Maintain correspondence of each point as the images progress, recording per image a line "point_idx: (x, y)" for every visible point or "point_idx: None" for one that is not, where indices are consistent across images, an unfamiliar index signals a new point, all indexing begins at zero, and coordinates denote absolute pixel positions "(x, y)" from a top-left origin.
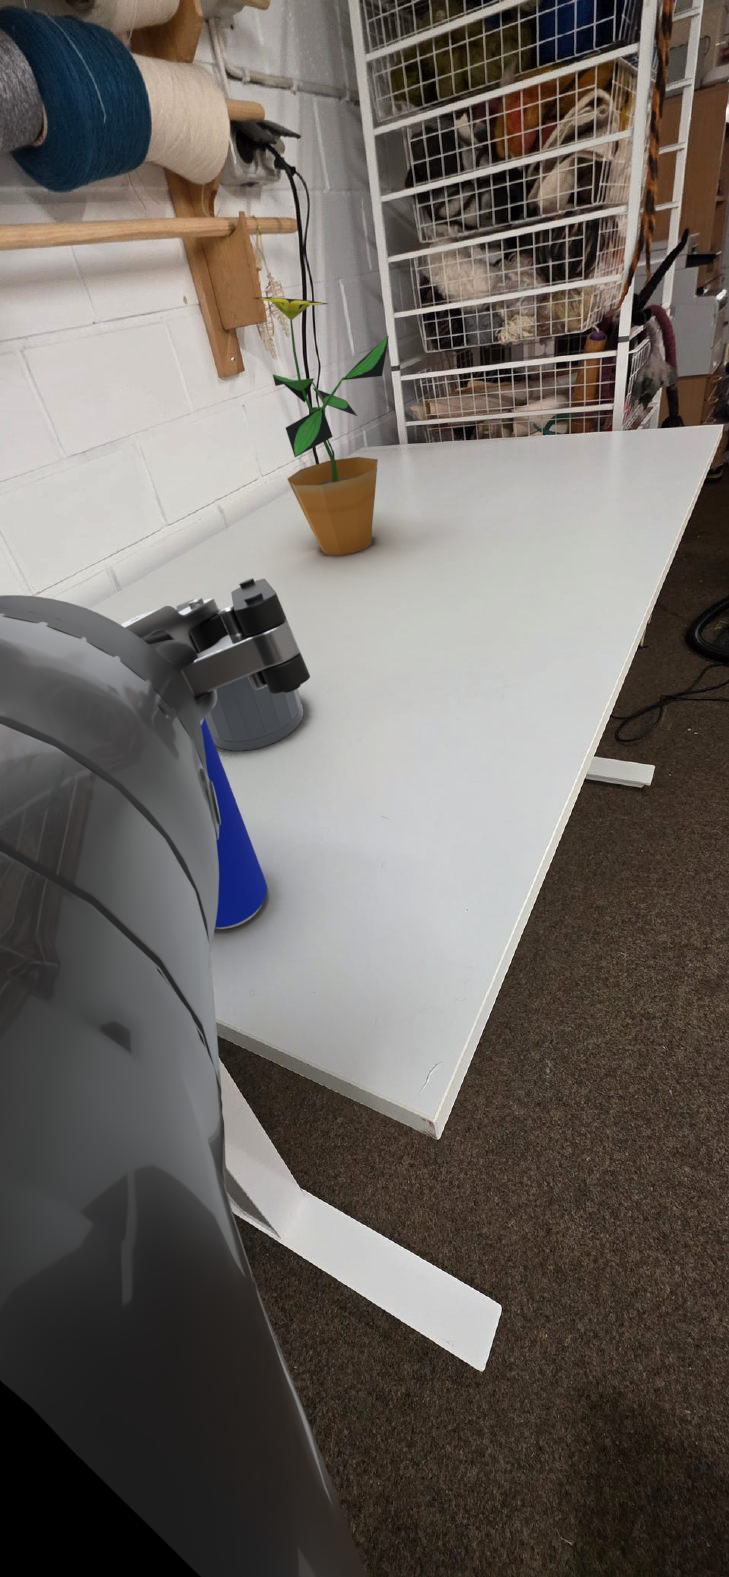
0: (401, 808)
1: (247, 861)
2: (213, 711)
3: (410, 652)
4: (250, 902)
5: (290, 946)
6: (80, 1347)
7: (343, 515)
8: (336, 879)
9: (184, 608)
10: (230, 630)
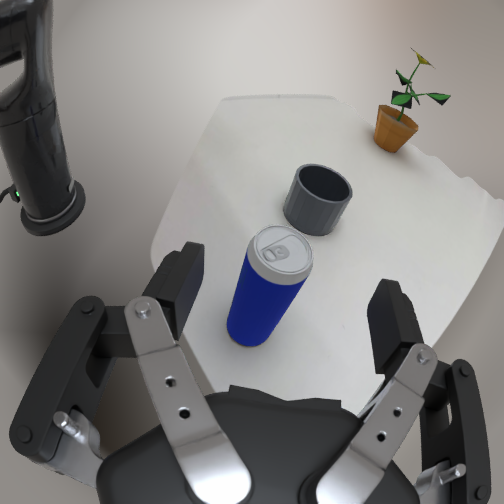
0: (353, 326)
1: (272, 329)
2: (296, 203)
3: (394, 228)
4: (258, 342)
5: (263, 375)
6: None
7: (393, 135)
8: (304, 350)
9: (403, 320)
10: (446, 481)
